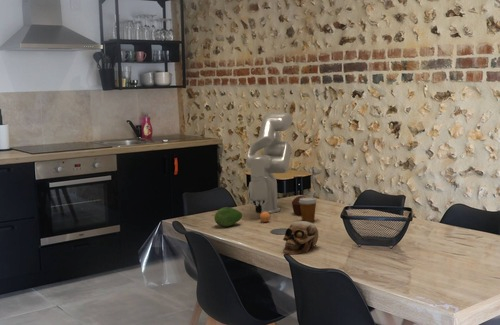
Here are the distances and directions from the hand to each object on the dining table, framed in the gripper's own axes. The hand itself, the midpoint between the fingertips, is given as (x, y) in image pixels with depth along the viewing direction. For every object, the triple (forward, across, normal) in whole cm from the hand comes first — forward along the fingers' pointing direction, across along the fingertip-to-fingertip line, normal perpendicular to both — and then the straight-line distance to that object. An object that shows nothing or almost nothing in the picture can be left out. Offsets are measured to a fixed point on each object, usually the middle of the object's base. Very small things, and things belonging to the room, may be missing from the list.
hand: (258, 212), depth 343 cm
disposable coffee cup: (+4, -22, +17) cm, 28 cm away
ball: (+1, -1, +8) cm, 8 cm away
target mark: (+4, -1, +32) cm, 32 cm away
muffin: (+3, -26, 0) cm, 26 cm away
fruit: (+4, +19, +7) cm, 21 cm away
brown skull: (+6, +4, +66) cm, 66 cm away
